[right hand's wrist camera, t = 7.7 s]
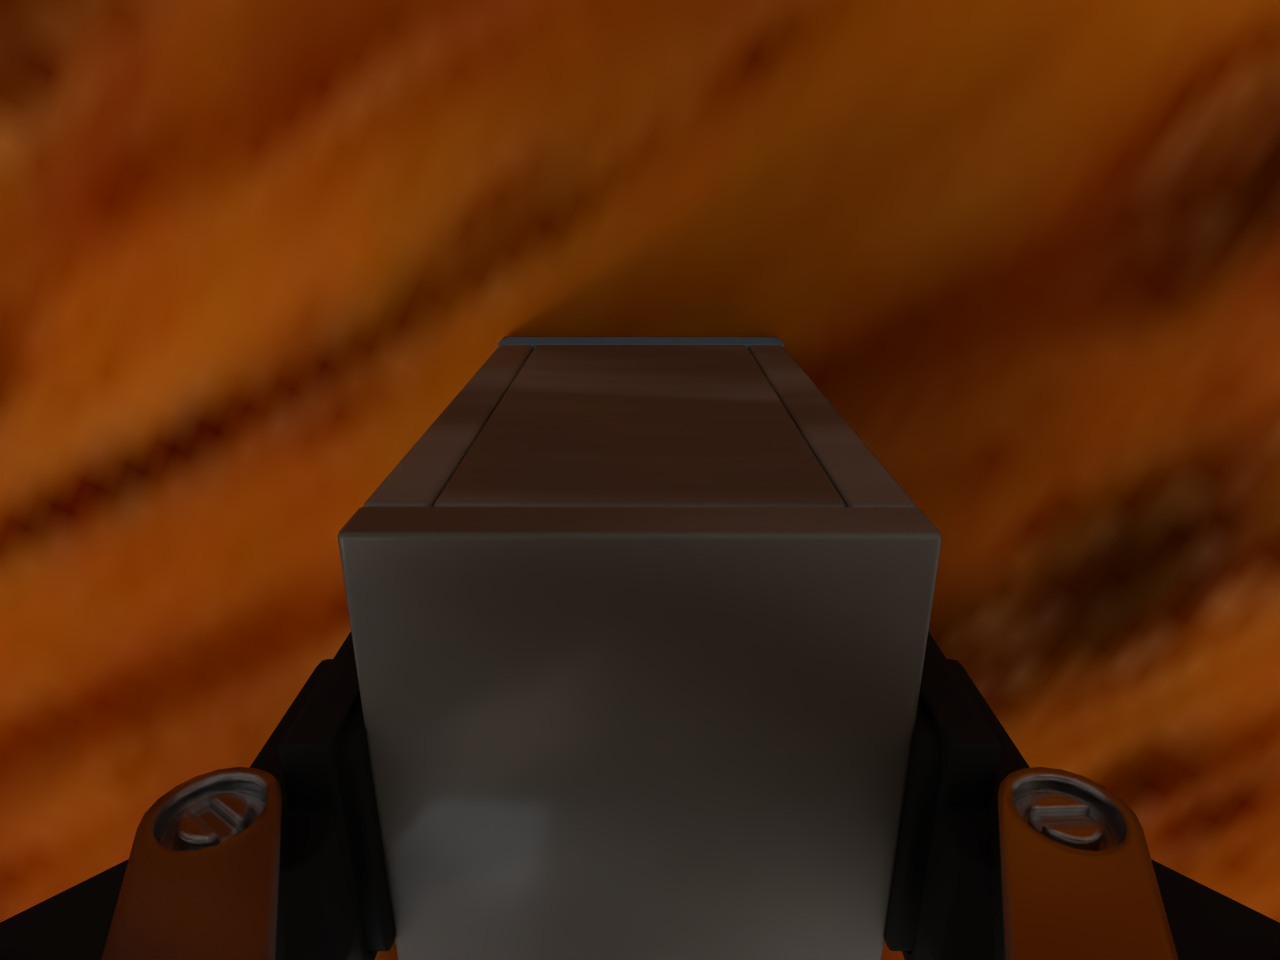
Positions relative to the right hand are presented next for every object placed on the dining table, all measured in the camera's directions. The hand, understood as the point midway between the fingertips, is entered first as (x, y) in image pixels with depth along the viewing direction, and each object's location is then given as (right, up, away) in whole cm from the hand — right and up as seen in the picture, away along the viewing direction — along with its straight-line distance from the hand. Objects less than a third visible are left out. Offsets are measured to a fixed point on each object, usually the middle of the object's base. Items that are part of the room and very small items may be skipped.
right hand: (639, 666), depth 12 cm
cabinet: (0, -1, +8) cm, 8 cm away
